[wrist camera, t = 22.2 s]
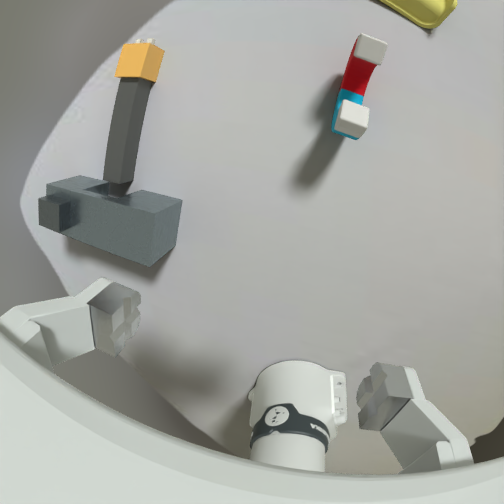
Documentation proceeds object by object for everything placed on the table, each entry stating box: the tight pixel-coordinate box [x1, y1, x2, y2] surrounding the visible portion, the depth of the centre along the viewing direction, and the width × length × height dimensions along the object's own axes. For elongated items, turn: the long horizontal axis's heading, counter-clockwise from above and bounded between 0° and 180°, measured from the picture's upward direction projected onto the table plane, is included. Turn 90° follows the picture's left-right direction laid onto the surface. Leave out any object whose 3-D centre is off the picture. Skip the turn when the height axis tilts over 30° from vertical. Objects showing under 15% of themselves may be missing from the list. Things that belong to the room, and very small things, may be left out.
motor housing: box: [39, 176, 182, 267], centre depth 36 cm, size 7×20×10 cm, turn 76°
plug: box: [103, 38, 165, 184], centre depth 32 cm, size 21×4×4 cm, turn 166°
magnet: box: [331, 33, 388, 140], centre depth 25 cm, size 12×3×10 cm, turn 165°
